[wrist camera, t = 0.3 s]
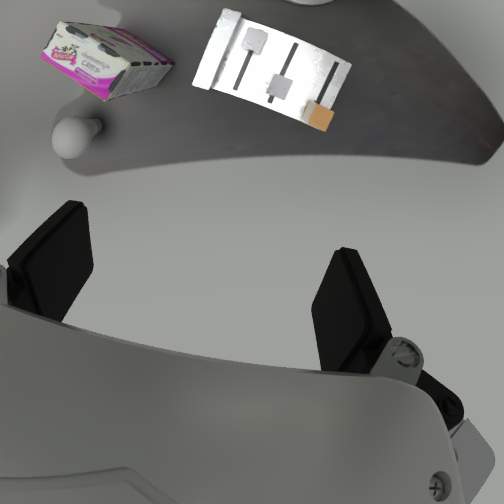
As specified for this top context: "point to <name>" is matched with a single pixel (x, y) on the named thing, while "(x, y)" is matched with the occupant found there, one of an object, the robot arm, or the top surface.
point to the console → (269, 67)
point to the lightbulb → (74, 135)
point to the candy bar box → (105, 59)
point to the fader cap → (317, 115)
